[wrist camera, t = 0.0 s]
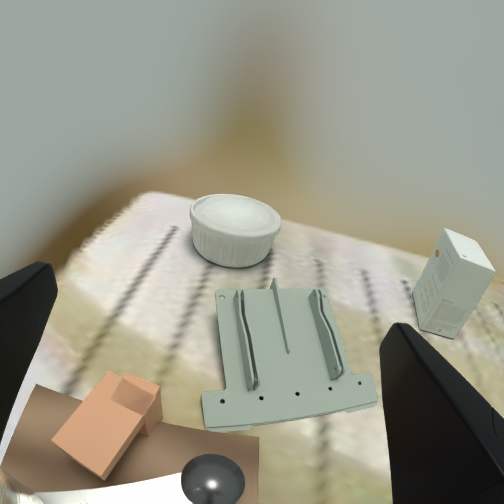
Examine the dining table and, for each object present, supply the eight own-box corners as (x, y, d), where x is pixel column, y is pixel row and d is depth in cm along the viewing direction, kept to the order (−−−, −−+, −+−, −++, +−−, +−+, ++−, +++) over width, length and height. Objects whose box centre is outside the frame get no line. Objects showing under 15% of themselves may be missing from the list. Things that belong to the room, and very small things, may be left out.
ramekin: (195, 221, 46) (199, 187, 43) (272, 234, 46) (280, 201, 44) (177, 265, 36) (180, 224, 34) (273, 281, 37) (283, 243, 34)
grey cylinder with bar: (225, 458, 17) (258, 361, 12) (249, 503, 15) (307, 439, 9) (2, 490, 10) (-103, 401, 4) (13, 539, 8) (-107, 481, 2)
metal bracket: (194, 268, 27) (347, 271, 31) (189, 303, 31) (324, 302, 35) (210, 442, 18) (393, 408, 22) (202, 449, 22) (358, 423, 26)
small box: (453, 340, 33) (497, 272, 27) (417, 330, 34) (460, 257, 28) (443, 302, 39) (477, 240, 34) (411, 291, 40) (443, 226, 35)
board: (250, 605, 9) (253, 607, 8) (-11, 527, 8) (-18, 524, 7) (256, 442, 20) (259, 437, 19) (40, 390, 19) (36, 383, 18)
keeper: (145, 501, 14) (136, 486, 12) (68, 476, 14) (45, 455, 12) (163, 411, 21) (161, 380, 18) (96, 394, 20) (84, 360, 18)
